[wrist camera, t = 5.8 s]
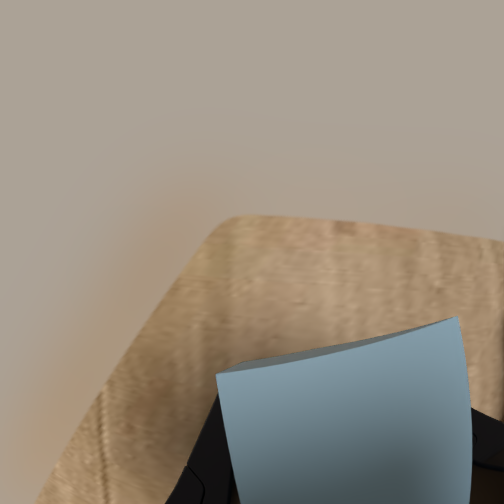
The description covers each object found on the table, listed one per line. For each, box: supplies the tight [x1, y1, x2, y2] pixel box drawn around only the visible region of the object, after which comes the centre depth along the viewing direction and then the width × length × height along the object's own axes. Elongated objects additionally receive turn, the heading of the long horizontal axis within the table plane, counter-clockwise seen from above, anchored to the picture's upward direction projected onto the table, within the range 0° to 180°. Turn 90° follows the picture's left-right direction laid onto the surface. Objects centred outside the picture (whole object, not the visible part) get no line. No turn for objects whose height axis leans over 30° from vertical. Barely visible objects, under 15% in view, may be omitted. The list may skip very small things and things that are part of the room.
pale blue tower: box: [216, 316, 472, 504], centre depth 9 cm, size 4×4×12 cm
